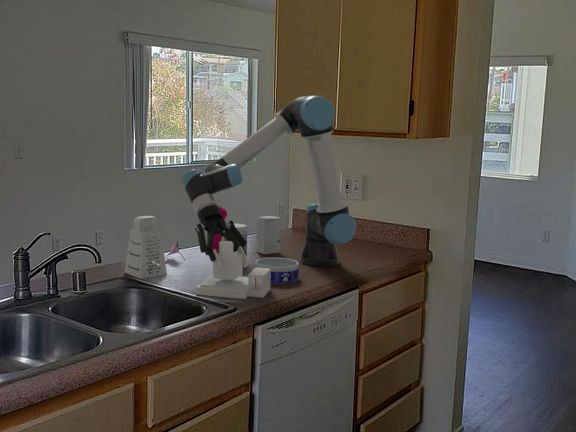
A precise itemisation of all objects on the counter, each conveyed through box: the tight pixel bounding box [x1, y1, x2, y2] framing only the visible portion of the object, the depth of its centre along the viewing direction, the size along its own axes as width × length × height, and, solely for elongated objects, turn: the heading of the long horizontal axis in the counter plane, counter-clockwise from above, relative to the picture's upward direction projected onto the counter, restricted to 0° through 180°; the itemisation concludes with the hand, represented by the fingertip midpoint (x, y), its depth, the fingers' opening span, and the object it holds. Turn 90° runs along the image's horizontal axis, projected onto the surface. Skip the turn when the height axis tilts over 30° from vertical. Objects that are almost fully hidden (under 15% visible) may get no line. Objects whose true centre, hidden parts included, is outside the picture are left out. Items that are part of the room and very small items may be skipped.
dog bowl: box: [254, 257, 300, 285], centre depth 226 cm, size 15×15×6 cm
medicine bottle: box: [212, 239, 244, 280], centre depth 207 cm, size 7×7×12 cm
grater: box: [124, 215, 168, 280], centre depth 225 cm, size 10×10×20 cm
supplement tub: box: [222, 223, 248, 257], centre depth 245 cm, size 10×10×15 cm
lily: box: [165, 236, 186, 261], centre depth 248 cm, size 12×12×10 cm
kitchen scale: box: [195, 267, 271, 300], centre depth 208 cm, size 21×16×7 cm
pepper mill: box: [212, 203, 228, 254], centre depth 263 cm, size 7×7×20 cm
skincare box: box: [256, 215, 282, 255], centre depth 267 cm, size 8×6×15 cm
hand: (233, 267), depth 205 cm, fingers closed on medicine bottle, 9 cm apart
